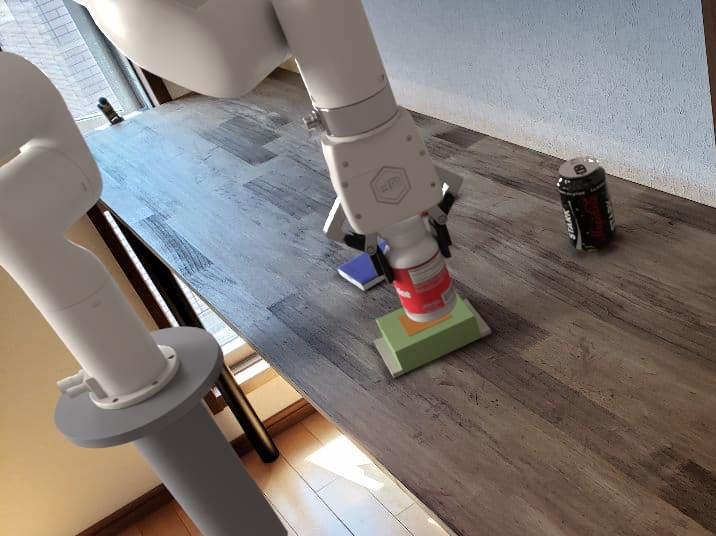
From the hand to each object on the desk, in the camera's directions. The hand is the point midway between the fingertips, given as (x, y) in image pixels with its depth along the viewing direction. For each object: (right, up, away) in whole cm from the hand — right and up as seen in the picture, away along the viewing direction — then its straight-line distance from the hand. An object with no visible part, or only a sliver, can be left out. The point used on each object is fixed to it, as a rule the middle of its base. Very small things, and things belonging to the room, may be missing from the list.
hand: (416, 264), depth 93 cm
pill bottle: (+1, -4, +4) cm, 6 cm away
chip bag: (-1, -7, +19) cm, 21 cm away
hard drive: (-10, +6, +37) cm, 39 cm away
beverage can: (+22, +8, +28) cm, 36 cm away
